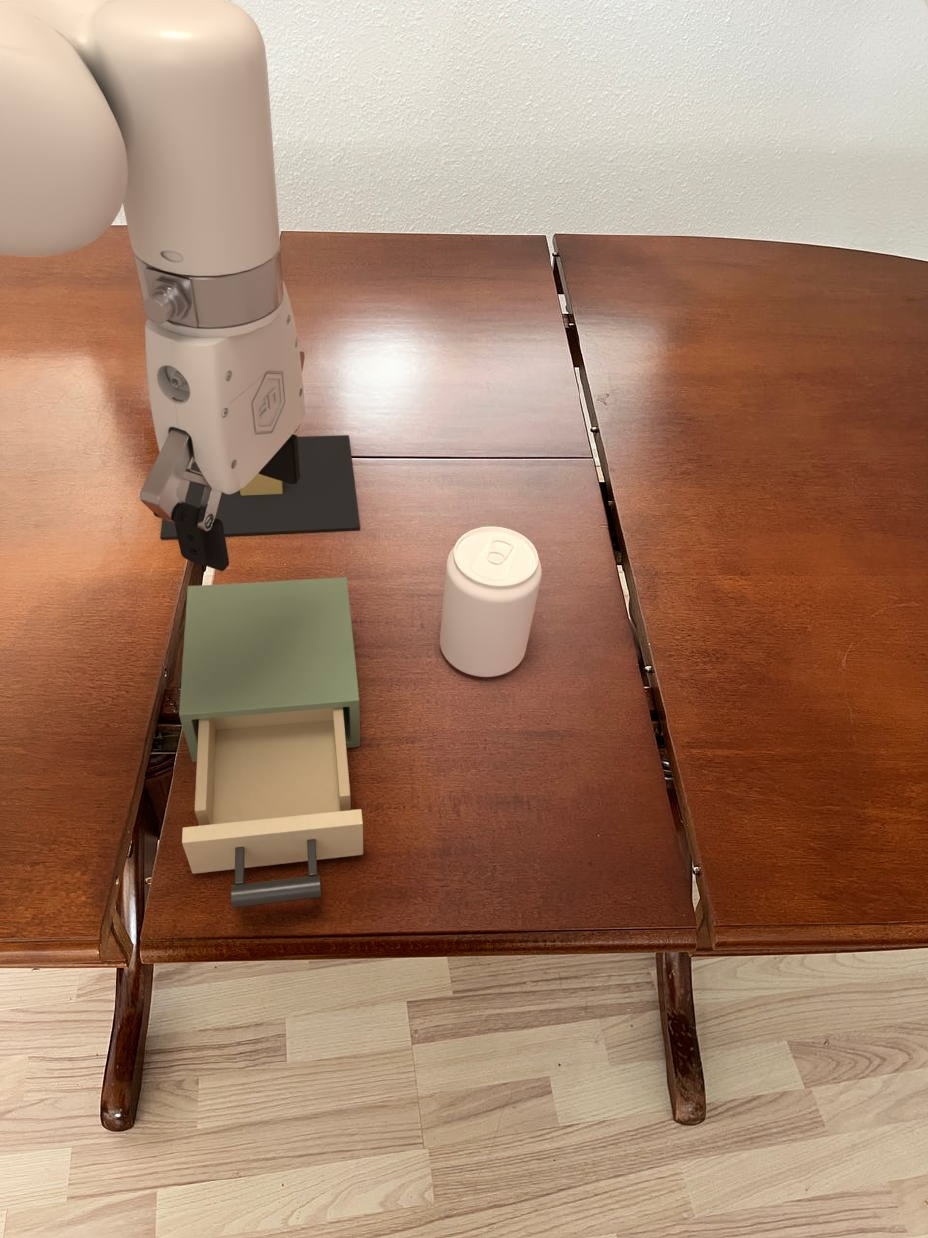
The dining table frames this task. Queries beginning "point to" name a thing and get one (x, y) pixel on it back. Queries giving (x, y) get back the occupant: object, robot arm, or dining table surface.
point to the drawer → (272, 800)
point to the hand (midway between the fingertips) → (244, 517)
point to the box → (262, 486)
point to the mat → (292, 496)
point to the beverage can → (489, 601)
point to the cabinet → (268, 652)
